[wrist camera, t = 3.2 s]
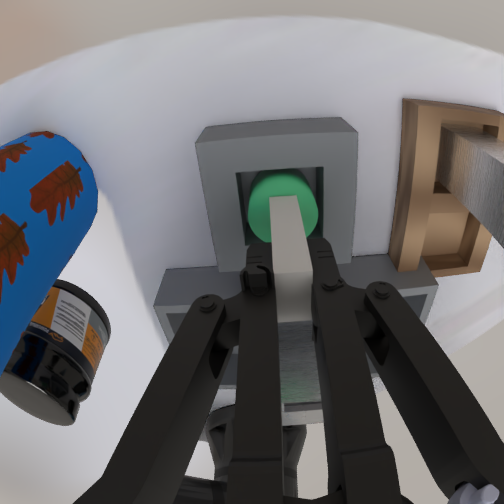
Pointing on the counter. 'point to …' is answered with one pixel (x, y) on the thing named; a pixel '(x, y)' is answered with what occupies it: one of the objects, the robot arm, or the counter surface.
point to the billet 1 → (299, 374)
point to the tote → (228, 285)
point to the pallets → (436, 194)
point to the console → (278, 157)
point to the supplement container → (57, 355)
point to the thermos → (38, 224)
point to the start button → (275, 186)
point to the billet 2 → (474, 173)
